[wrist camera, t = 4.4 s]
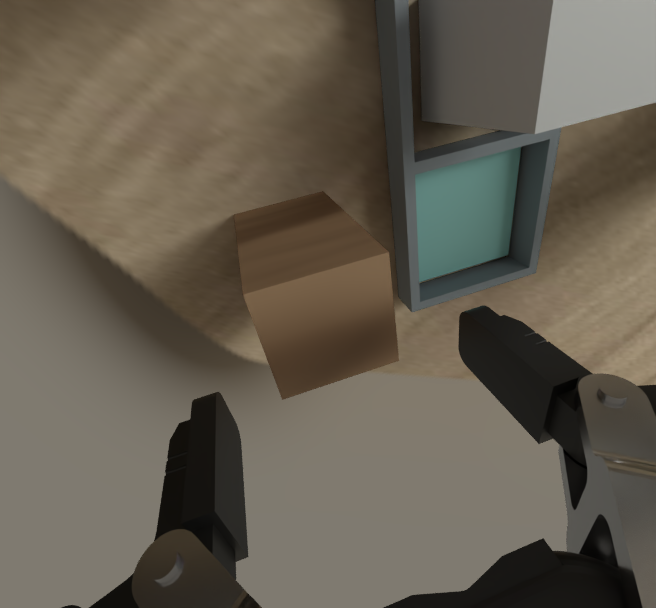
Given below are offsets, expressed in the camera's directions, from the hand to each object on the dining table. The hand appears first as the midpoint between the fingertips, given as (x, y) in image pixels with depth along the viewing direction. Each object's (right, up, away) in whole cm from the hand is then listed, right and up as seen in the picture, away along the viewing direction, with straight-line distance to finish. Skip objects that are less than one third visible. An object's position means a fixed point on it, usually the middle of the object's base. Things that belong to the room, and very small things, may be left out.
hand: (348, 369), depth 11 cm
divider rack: (+7, +11, +9) cm, 16 cm away
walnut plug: (-3, +6, +9) cm, 11 cm away
